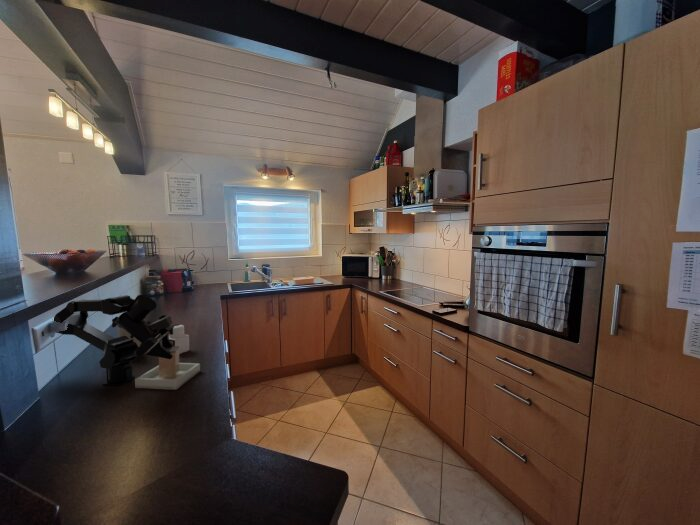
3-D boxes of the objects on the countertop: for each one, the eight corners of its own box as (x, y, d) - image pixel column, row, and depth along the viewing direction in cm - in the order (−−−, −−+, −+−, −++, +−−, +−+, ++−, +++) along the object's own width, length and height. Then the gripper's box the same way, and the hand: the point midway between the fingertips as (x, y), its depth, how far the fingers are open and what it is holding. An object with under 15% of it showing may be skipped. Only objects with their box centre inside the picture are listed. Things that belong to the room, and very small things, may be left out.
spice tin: (159, 377, 99) (158, 352, 99) (163, 371, 104) (163, 347, 103) (175, 376, 101) (175, 350, 100) (179, 370, 106) (179, 346, 105)
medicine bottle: (163, 353, 126) (162, 326, 125) (178, 348, 133) (178, 322, 132) (174, 355, 123) (174, 328, 123) (189, 350, 130) (189, 324, 129)
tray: (135, 387, 96) (135, 379, 96) (164, 369, 110) (164, 362, 110) (176, 389, 95) (176, 380, 95) (200, 371, 109) (199, 363, 109)
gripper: (145, 315, 91) (185, 347, 95) (164, 303, 109) (197, 330, 113) (116, 342, 89) (157, 373, 93) (140, 325, 107) (174, 352, 111)
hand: (173, 355), depth 102 cm, fingers closed on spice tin, 5 cm apart
